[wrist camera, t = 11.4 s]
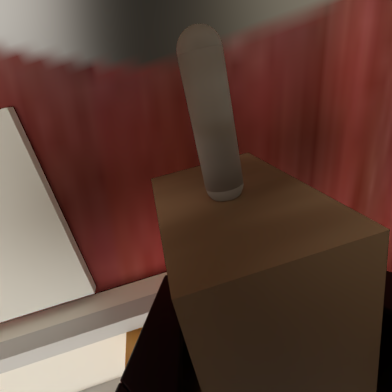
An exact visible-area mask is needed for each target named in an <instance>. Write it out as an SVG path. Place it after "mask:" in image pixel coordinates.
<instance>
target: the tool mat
mask: <svg viewBox="0 0 392 392" xmlns="http://www.w3.org/2000/svg"><path fill="white" fill-rule="evenodd" d="M95 289H96V285H95V283H94V281H93V279H92V276H91V274H90V272H89V270H88V268H87V266H86V263H85V261H84V259H83V257H82V255H81V253H80V250H79V248H78V246H77V244H76V242H75V240H74V237H73V235H72V233H71V231H70V229H69V227H68V224H67V222H66V220H65V218H64V216H63V214H62V211H61V209H60V207H59V205H58V203H57V201H56V199H55V196H54V194H53V192H52V190H51V188H50V186H49V183H48V181H47V179H46V177H45V175H44V173H43V170H42V168H41V166H40V164H39V162H38V160H37V157H36V155H35V153H34V151H33V149H32V147H31V144H30V142H29V140H28V138H27V136H26V134H25V131H24V129H23V127H22V125H21V123H20V121H19V119H18V116H17V114H16V112H15V110H14V108H13V107H8V108H3V109H0V323H1V322H4V321H7V320H10V319H14V318H17V317H20V316H23V315H27V314H30V313H33V312H36V311H40V310H43V309H46V308H49V307H52V306H56V305H59V304H62V303H65V302H69V301H72V300H75V299H78V298H81V297H85V296H88V295H91V294H94V293H95Z"/></svg>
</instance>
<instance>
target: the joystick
mask: <svg viewBox="0 0 392 392" xmlns="http://www.w3.org/2000/svg"><path fill="white" fill-rule="evenodd" d="M176 53H177V59H178V64H179V69H180V73H181V78H182V83H183V87H184V92H185V96H186V101H187V106H188V110H189V115H190V120H191V124H192V129H193V133H194V138H195V143H196V147H197V152H198V157H199V161H200V166H197V167H193V168H189V169H186V170H182V171H178V172H174V173H171V174H167V175H163V176H160V177H156V178H152V179H151V181H152V187H153V193H154V199H155V205H156V210H157V216H158V222H159V228H160V234H161V240H162V246H163V252H164V258H165V264H166V270H167V276H168V282H169V288H170V294H171V300H172V303H173V306H174V309H175V312H176V315H177V318H178V321H179V324H180V327H181V330H182V333H183V336H184V339H185V342H186V345H187V348H188V351H189V355H190V358H191V361H192V364H193V367H194V370H195V373H196V376H197V379H198V382H199V385H200V388H201V391H202V392H376V390H377V377H378V365H379V353H380V341H381V329H382V317H383V304H384V292H385V280H386V268H387V256H388V244H389V231H390V230H389V229H388V228H386V227H384V226H382V225H380V224H378V223H377V222H375V221H373V220H371V219H369V218H367V217H365V216H364V215H362V214H360V213H358V212H356V211H354V210H353V209H351V208H349V207H347V206H345V205H343V204H342V203H340V202H338V201H336V200H334V199H332V198H331V197H329V196H327V195H325V194H323V193H321V192H320V191H318V190H316V189H314V188H312V187H310V186H308V185H307V184H305V183H303V182H301V181H299V180H297V179H296V178H294V177H292V176H290V175H288V174H286V173H285V172H283V171H281V170H279V169H277V168H275V167H274V166H272V165H270V164H268V163H266V162H264V161H262V160H261V159H259V158H257V157H255V156H253V155H251V154H250V153H245V154H241V155H239V149H238V143H237V136H236V130H235V123H234V117H233V110H232V104H231V97H230V91H229V84H228V78H227V71H226V65H225V58H224V52H223V45H222V41H221V38H220V36H219V34H218V33H217V32H216V31H215V30H214V29H213V28H212V27H210V26H209V25H206V24H193V25H191V26H189V27H187V28H186V29H185V30H184V31H183V32H182V34H181V35H180V37H179V39H178V42H177V47H176Z"/></svg>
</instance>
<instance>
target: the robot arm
mask: <svg viewBox="0 0 392 392" xmlns="http://www.w3.org/2000/svg"><path fill="white" fill-rule="evenodd" d="M120 382H121V383H119V384H118V386H117V388H116V390H115V392H202V391H201V388H200V385H199V382H198V379H197V376H196V373H195V370H194V367H193V364H192V361H191V358H190V355H189V351H188V348H187V345H186V342H185V339H184V336H183V333H182V330H181V327H180V324H179V321H178V318H177V315H176V312H175V309H174V306H173V303H172V300H171V294H170V288H169V282H168V276H167V275H165V276H164V278H163V280H162V283H161V285H160V287H159V290H158V292H157V294H156V297H155V299H154V301H153V304H152V306H151V309H150V311H149V313H148V316H147V318H146V320H145V323H144V325H143V327H142V330H141V332H140V334H139V337H138V339H137V341H136V344H135V346H134V349H133V351H132V353H131V356H130V358H129V360H128V363H127V365H126V367H125V370H124V372H123V374H122V377H121V379H120ZM376 392H392V272H389V271H386V280H385V292H384V304H383V317H382V329H381V341H380V353H379V365H378V377H377V390H376Z"/></svg>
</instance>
